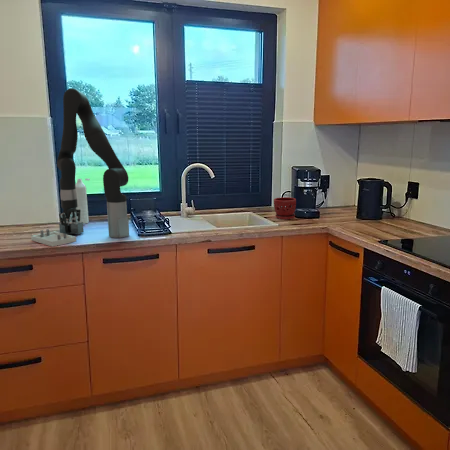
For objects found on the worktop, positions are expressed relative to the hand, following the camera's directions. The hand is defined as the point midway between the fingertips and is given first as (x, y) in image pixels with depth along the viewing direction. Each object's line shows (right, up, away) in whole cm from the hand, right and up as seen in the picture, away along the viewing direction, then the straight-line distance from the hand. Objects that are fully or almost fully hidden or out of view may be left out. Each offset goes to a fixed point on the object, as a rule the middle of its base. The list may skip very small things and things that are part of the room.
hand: (71, 231), depth 208 cm
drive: (0, 0, 0) cm, 1 cm away
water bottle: (-3, +4, +27) cm, 27 cm away
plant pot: (+113, +7, +40) cm, 120 cm away
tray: (-4, -4, -13) cm, 14 cm away
